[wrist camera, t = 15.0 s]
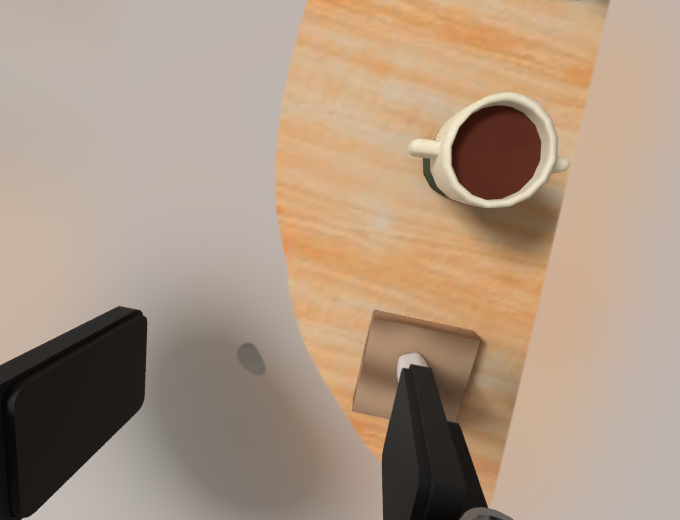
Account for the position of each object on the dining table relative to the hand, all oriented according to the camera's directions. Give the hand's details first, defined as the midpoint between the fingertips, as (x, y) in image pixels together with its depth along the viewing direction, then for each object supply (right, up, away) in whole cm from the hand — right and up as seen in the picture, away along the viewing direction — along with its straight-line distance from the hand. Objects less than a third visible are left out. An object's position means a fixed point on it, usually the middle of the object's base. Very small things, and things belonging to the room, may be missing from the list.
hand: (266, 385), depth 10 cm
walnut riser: (+10, -8, +30) cm, 33 cm away
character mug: (+13, +13, +25) cm, 31 cm away
